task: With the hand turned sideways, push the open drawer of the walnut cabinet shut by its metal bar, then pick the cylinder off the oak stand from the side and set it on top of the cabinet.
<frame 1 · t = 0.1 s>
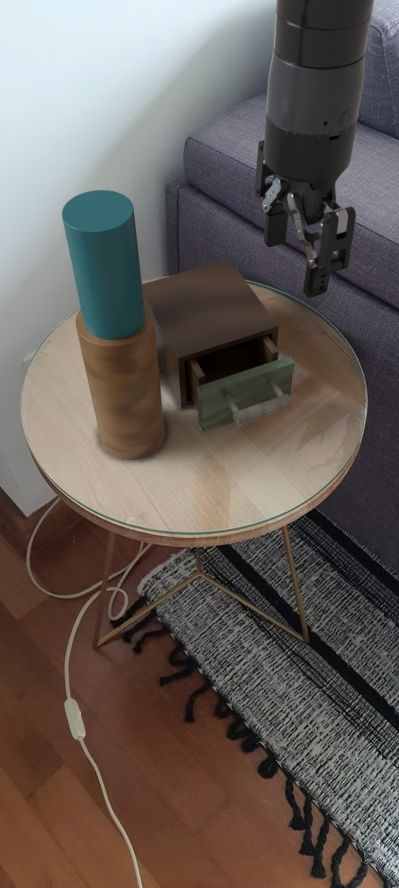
hand: (293, 268, 69), 19 cm above the table, tool pointing down, fingers open, 8 cm apart
stand: (132, 433, 81), on the table
cabinet: (206, 356, 89), on the table
beer can: (120, 372, 88), on the table
cylinder: (114, 318, 67), point 18 cm above the table, touching stand
drawer: (232, 374, 81), point 4 cm above the table, slide at 4.0 cm
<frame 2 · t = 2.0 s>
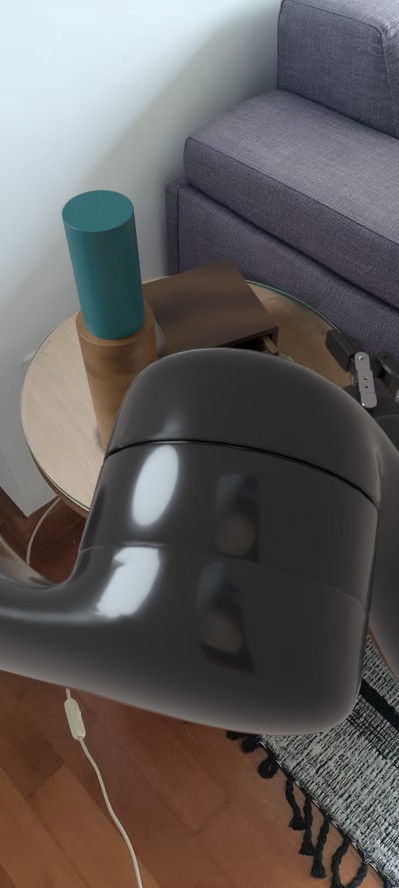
hand: (296, 347, 61), 20 cm above the table, tool horizontal, fingers open, 6 cm apart
nothing on the table moved.
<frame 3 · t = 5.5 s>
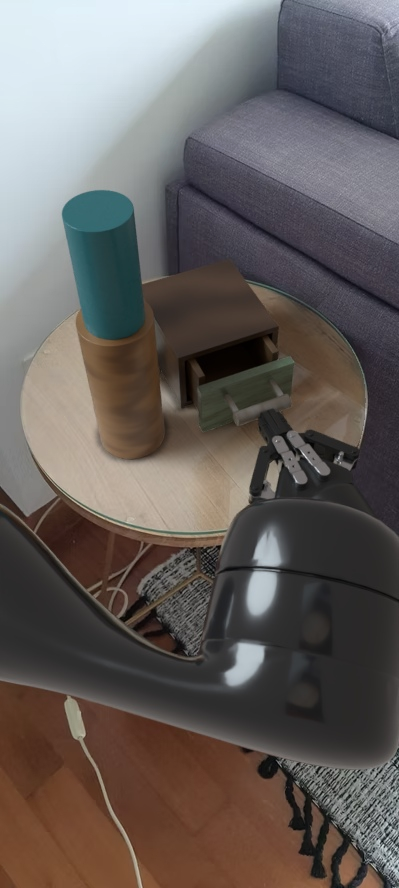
hand: (265, 415, 75), 6 cm above the table, tool horizontal, fingers closed
drawer: (232, 374, 81), point 4 cm above the table, slide at 4.0 cm, touching gripper
everything else where it was.
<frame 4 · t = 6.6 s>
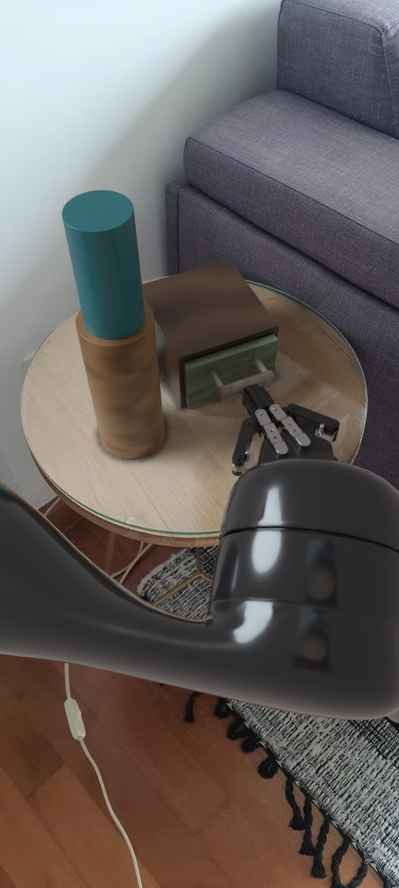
hand: (249, 390, 77), 6 cm above the table, tool horizontal, fingers closed
drawer: (218, 352, 83), point 4 cm above the table, slide at 0.0 cm, touching cabinet, gripper
everything else where it was.
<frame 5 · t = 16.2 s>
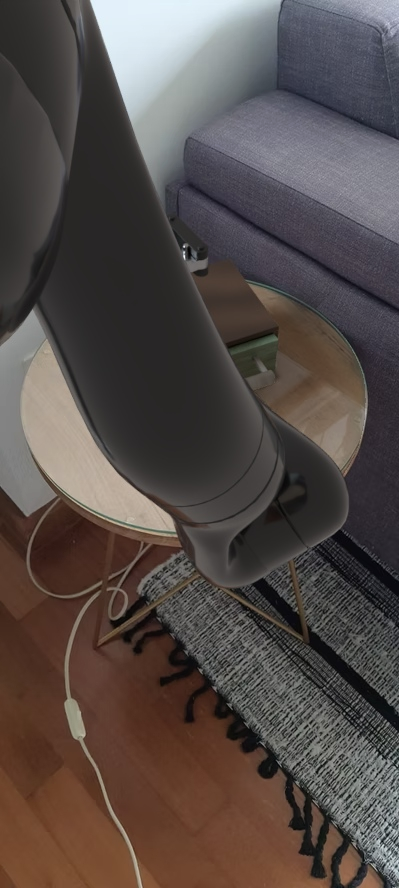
hand: (92, 215, 60), 28 cm above the table, tool horizontal, fingers closed on cylinder, 6 cm apart
cylinder: (114, 318, 67), point 18 cm above the table, touching gripper, stand
drawer: (218, 352, 83), point 4 cm above the table, slide at 0.0 cm, touching cabinet
everything else where it was.
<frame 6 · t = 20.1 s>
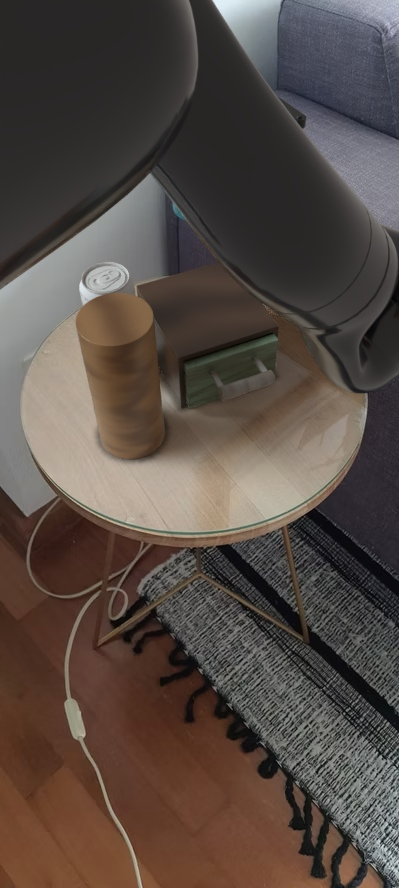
hand: (189, 97, 64), 32 cm above the table, tool horizontal, fingers closed on cylinder, 6 cm apart
cylinder: (202, 206, 71), point 22 cm above the table, touching gripper
everything else where it was.
when the fingers open (19 cm above the table, at t = 24.3 s): cylinder stays where it is, resting on cabinet.
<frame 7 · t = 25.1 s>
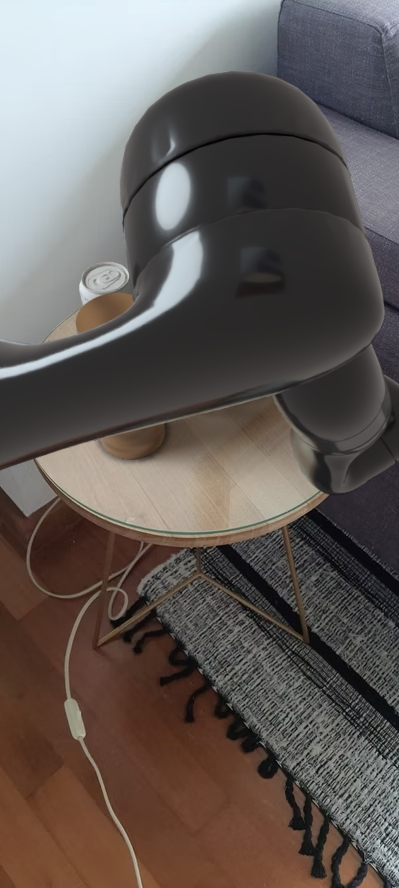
hand: (197, 218, 74), 20 cm above the table, tool horizontal, fingers open, 8 cm apart
cylinder: (206, 305, 82), point 9 cm above the table, touching cabinet
everything else where it was.
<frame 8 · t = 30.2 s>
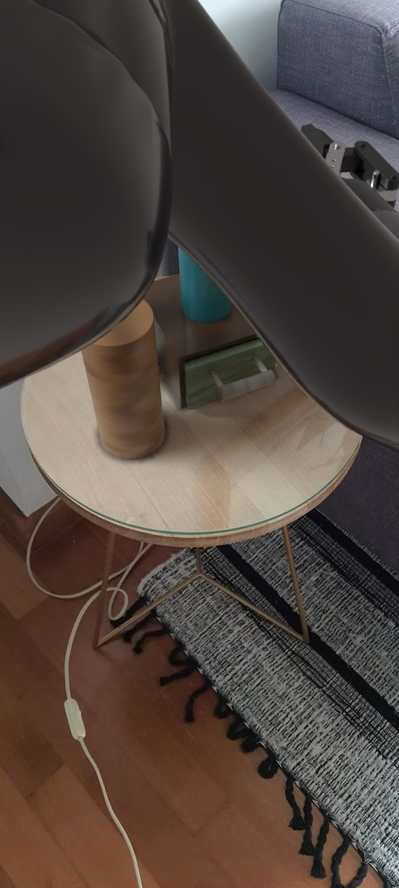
hand: (256, 147, 55), 34 cm above the table, tool horizontal, fingers open, 8 cm apart
nothing on the table moved.
at the end: drawer slide at 0.0 cm; cylinder inside the target area on the cabinet (0.1 cm from its centre), point 8.6 cm above the cabinet's base; cylinder tilted 0° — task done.
